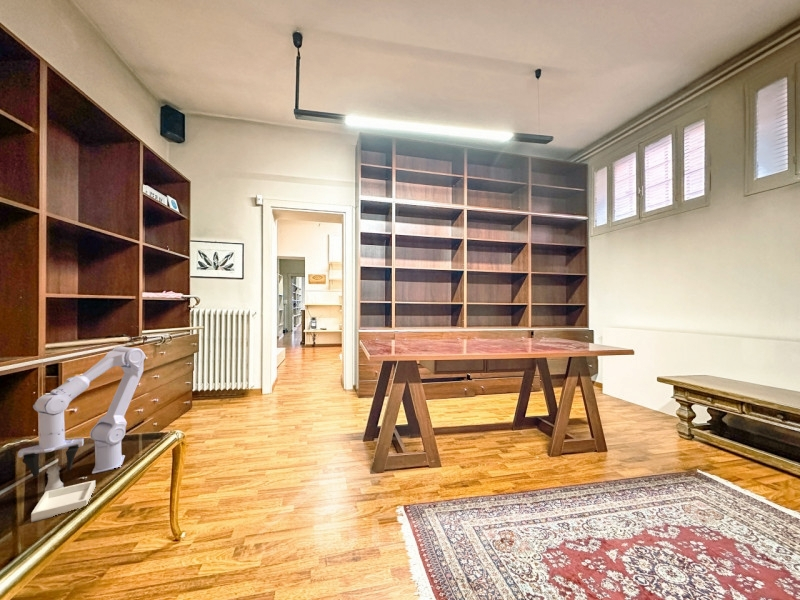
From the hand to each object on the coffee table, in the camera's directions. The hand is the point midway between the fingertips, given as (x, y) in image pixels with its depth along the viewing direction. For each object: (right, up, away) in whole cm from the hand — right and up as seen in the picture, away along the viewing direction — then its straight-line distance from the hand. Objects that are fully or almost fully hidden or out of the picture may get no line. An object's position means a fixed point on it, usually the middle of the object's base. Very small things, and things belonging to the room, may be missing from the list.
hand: (53, 472), depth 107 cm
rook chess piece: (0, -7, 0) cm, 7 cm away
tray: (+10, -7, -5) cm, 13 cm away
